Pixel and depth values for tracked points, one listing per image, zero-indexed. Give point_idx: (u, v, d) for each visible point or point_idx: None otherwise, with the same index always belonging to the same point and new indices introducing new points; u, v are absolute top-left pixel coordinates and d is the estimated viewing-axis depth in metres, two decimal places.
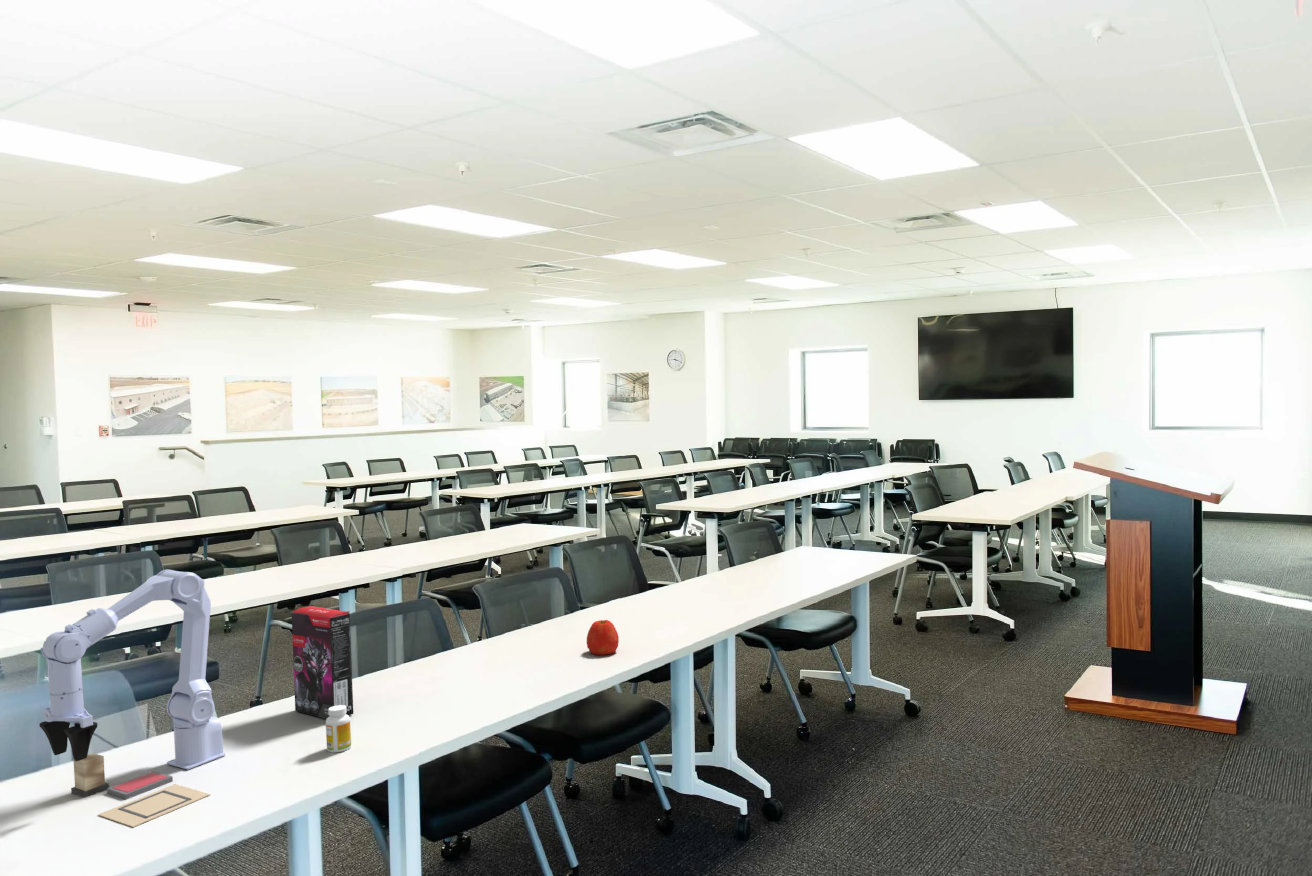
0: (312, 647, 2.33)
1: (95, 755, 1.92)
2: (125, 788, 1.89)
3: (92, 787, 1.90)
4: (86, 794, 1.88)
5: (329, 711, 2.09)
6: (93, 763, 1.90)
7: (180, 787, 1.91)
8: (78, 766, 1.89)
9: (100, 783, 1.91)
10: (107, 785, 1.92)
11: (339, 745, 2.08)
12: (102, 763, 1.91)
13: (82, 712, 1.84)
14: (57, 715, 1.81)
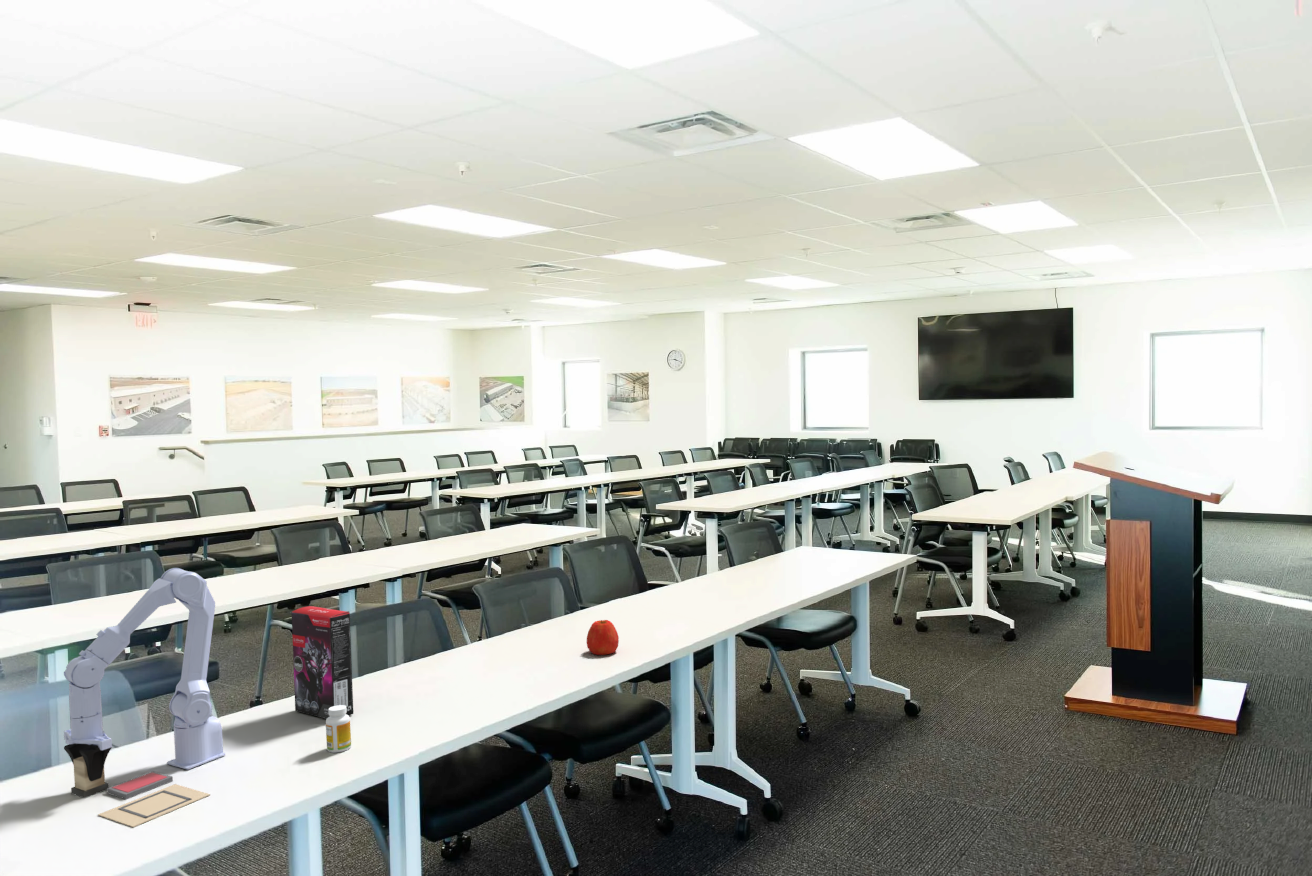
0: (312, 647, 2.33)
1: None
2: (125, 788, 1.89)
3: (92, 787, 1.90)
4: (86, 794, 1.88)
5: (329, 711, 2.09)
6: None
7: (180, 787, 1.91)
8: (78, 766, 1.89)
9: (100, 783, 1.91)
10: (107, 785, 1.92)
11: (339, 745, 2.08)
12: None
13: (101, 735, 1.91)
14: (77, 738, 1.88)
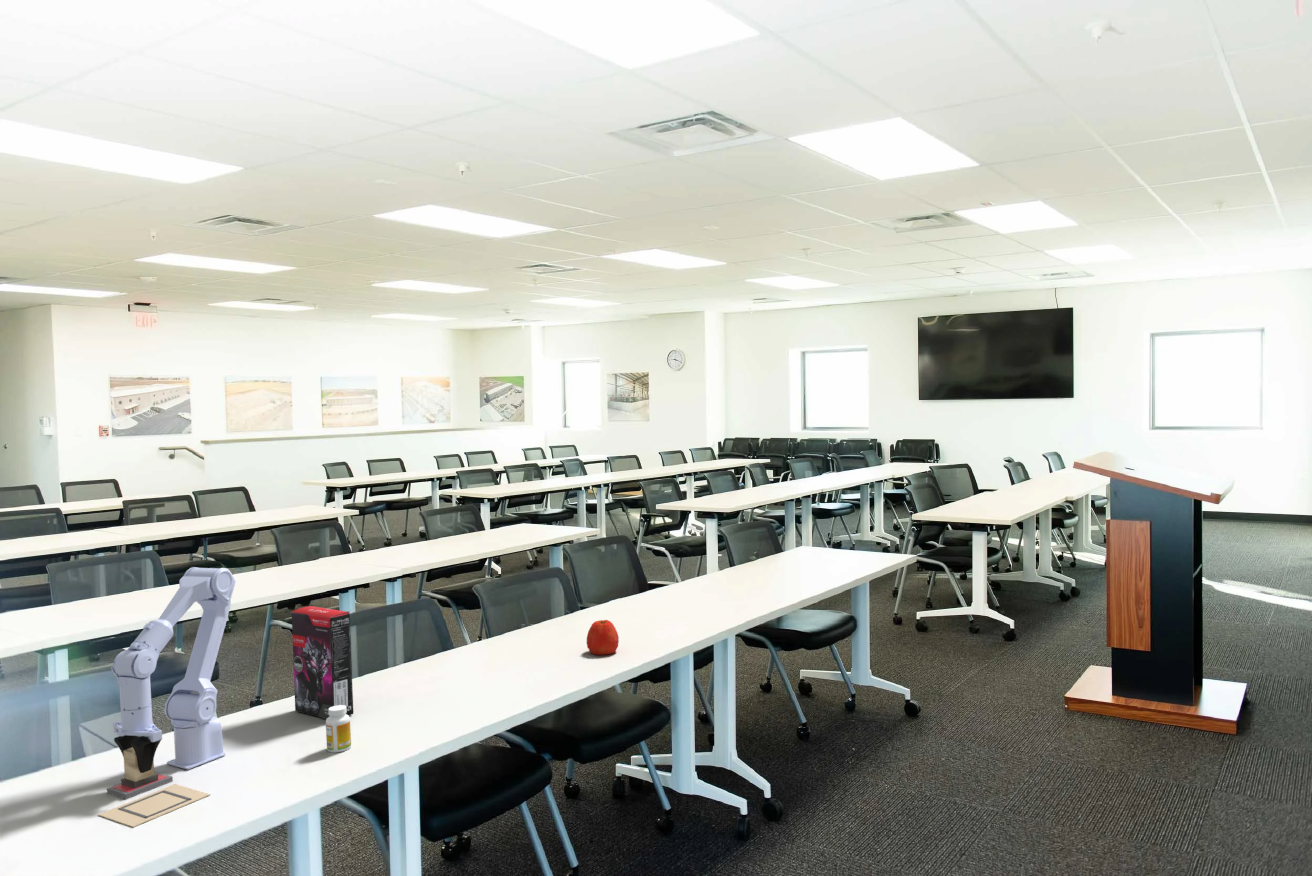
0: (312, 647, 2.33)
1: None
2: (125, 788, 1.89)
3: (142, 778, 1.91)
4: (136, 785, 1.89)
5: (329, 711, 2.09)
6: None
7: (180, 787, 1.91)
8: (128, 757, 1.90)
9: (150, 774, 1.92)
10: (156, 776, 1.93)
11: (339, 745, 2.08)
12: None
13: (151, 727, 1.92)
14: (128, 730, 1.89)
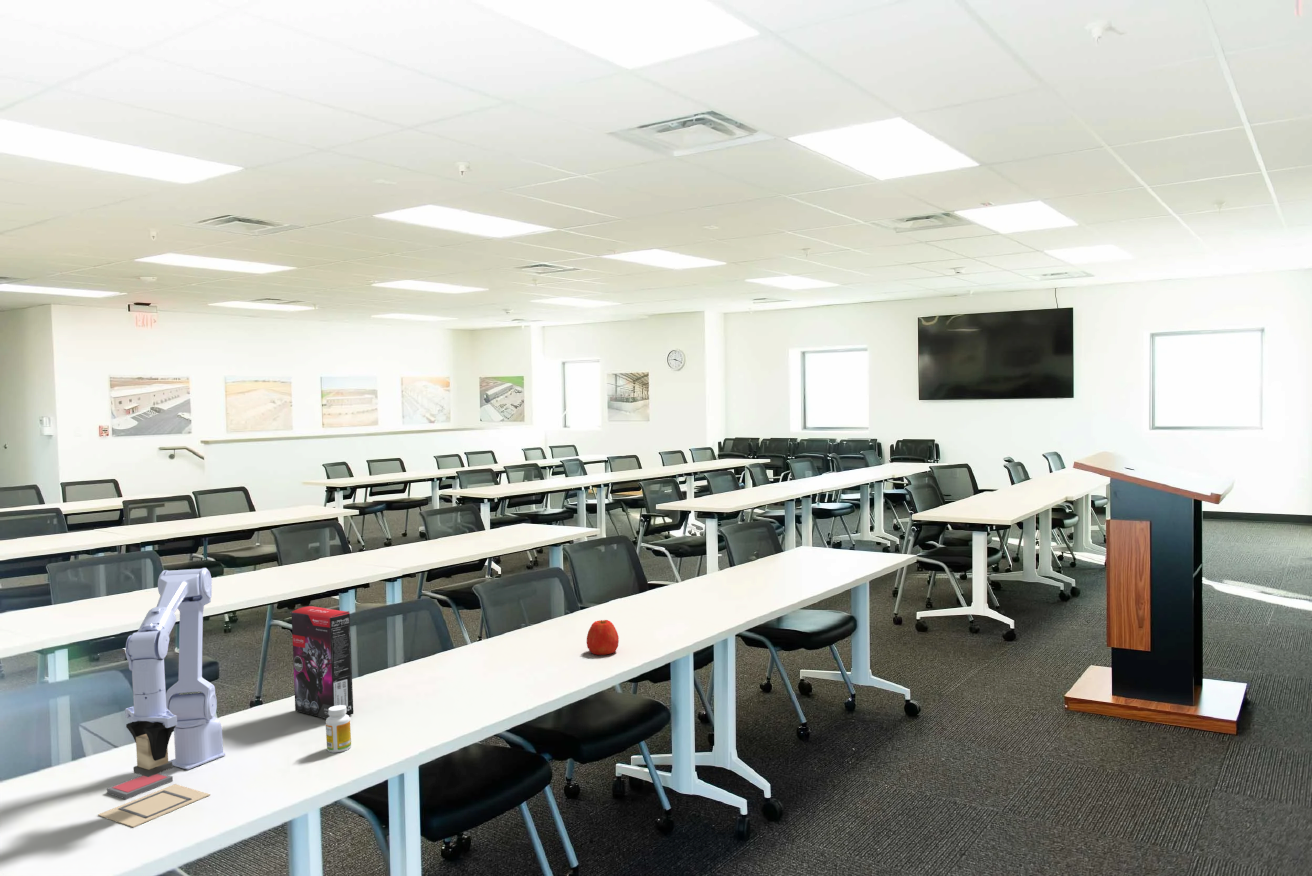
0: (312, 647, 2.33)
1: None
2: (125, 788, 1.89)
3: (155, 766, 1.81)
4: (150, 773, 1.80)
5: (329, 711, 2.09)
6: None
7: (180, 787, 1.91)
8: (141, 744, 1.81)
9: (163, 762, 1.83)
10: (170, 764, 1.83)
11: (339, 745, 2.08)
12: None
13: (165, 712, 1.82)
14: (141, 715, 1.79)
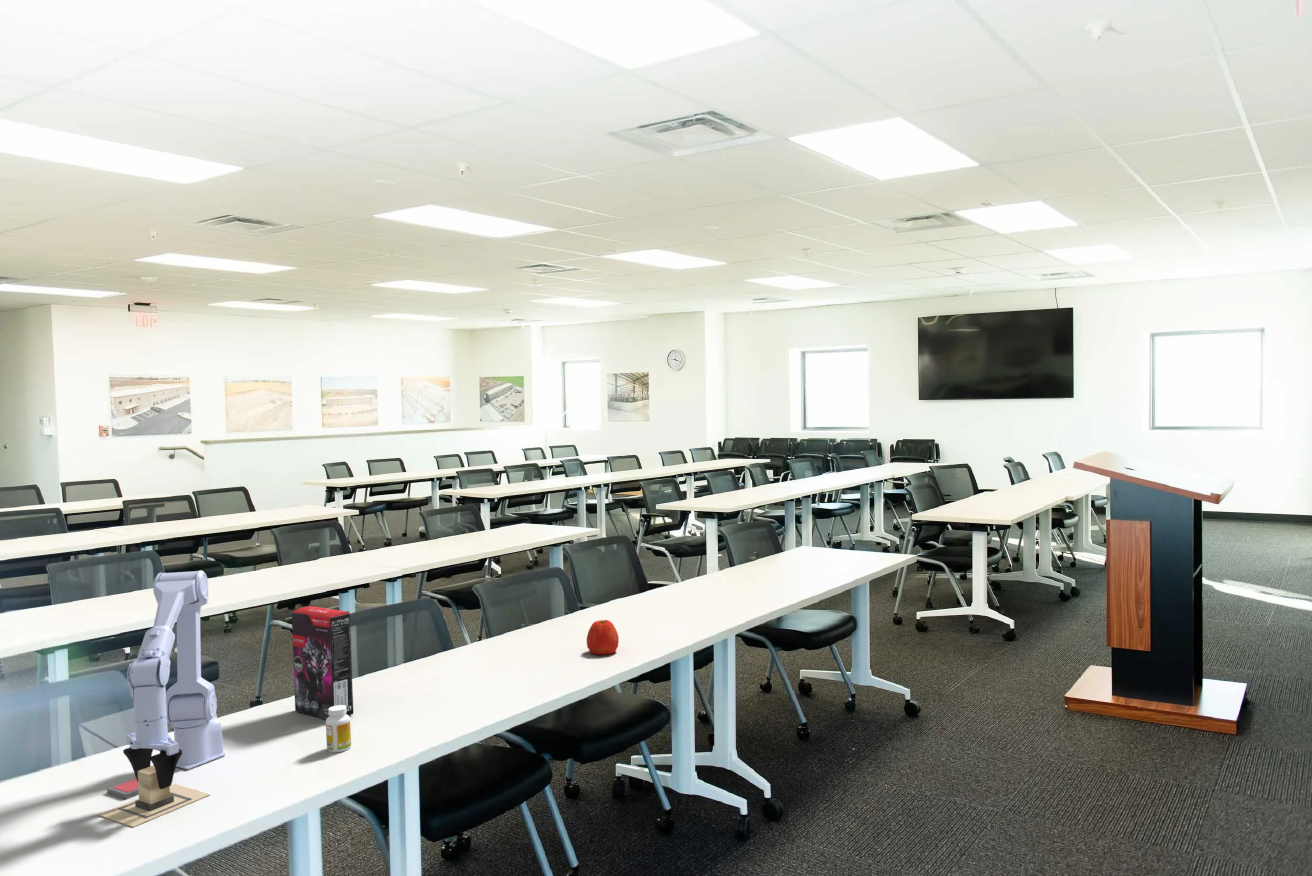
0: (312, 647, 2.33)
1: None
2: (125, 788, 1.89)
3: (157, 800, 1.81)
4: (151, 807, 1.80)
5: (329, 711, 2.09)
6: None
7: (180, 787, 1.91)
8: (143, 778, 1.81)
9: (165, 796, 1.83)
10: (172, 798, 1.84)
11: (339, 745, 2.08)
12: None
13: (166, 739, 1.82)
14: (143, 742, 1.80)
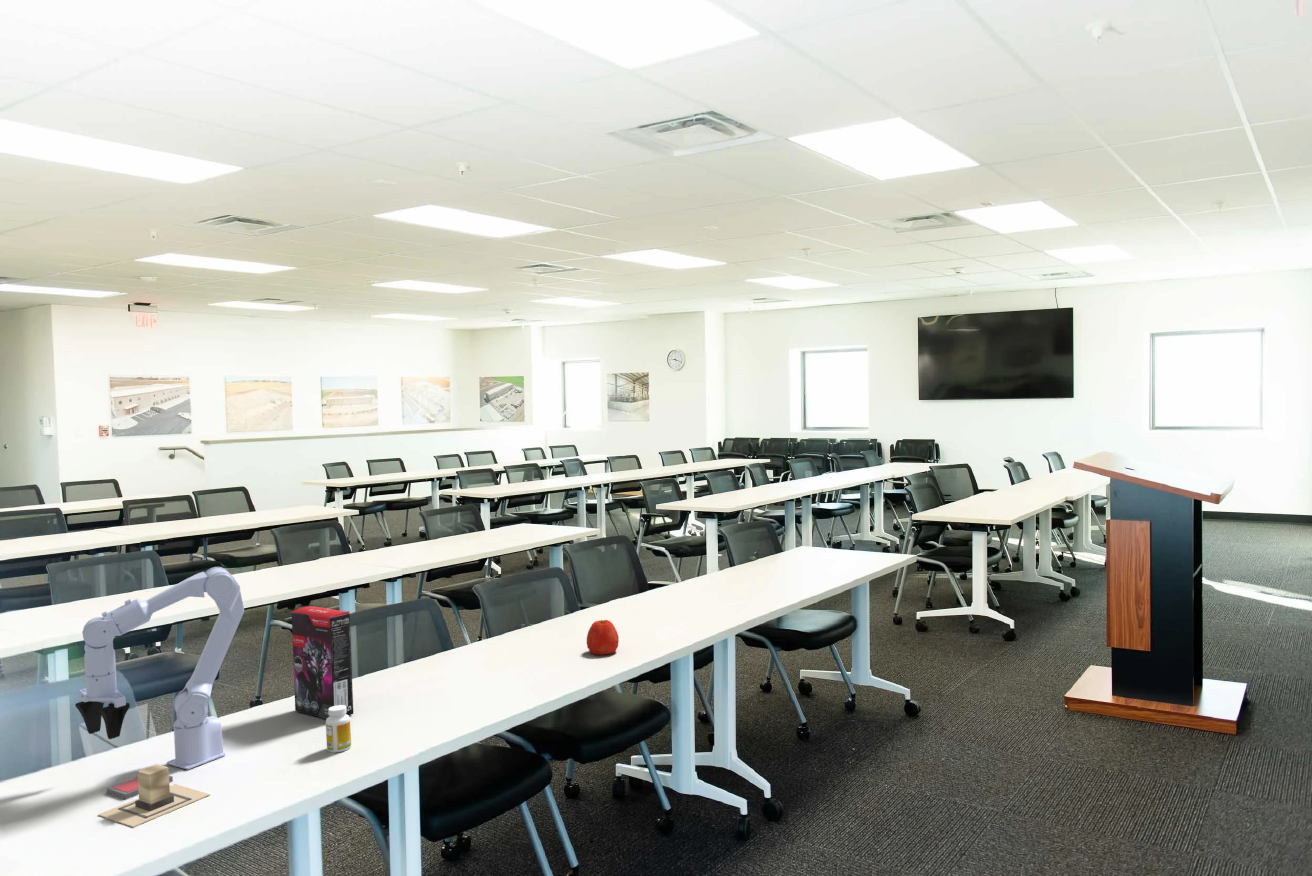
0: (312, 647, 2.33)
1: (159, 766, 1.84)
2: (125, 788, 1.89)
3: (157, 800, 1.81)
4: (151, 807, 1.80)
5: (329, 711, 2.09)
6: (158, 774, 1.82)
7: (180, 787, 1.91)
8: (143, 778, 1.81)
9: (165, 796, 1.83)
10: (172, 798, 1.84)
11: (339, 745, 2.08)
12: (167, 775, 1.83)
13: (115, 693, 1.96)
14: (93, 696, 1.93)
